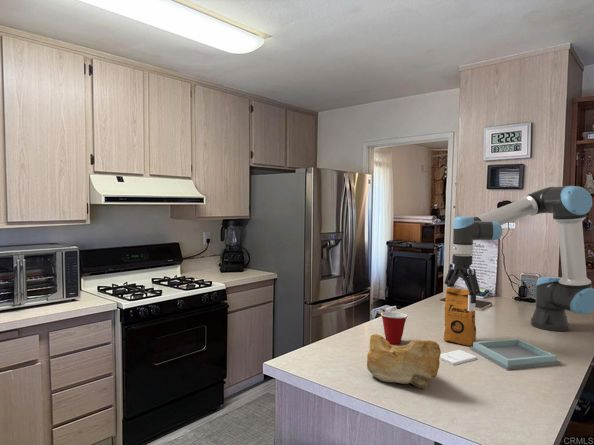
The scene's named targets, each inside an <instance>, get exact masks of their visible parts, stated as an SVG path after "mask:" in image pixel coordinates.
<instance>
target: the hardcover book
mask: <svg viewBox="0 0 594 445" xmlns="http://www.w3.org/2000/svg"><path fill="white" fill-rule="evenodd" d="M445 301H446V296H445V297H443V298H440V299H439V302H440V304H445ZM492 306H493V302H491V301H485V300H481V299H476V303H475V311H476V310H477V311H482V310H484V309H487V308H489V307H492Z"/></svg>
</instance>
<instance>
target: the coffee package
mask: <svg viewBox="0 0 594 445" xmlns="http://www.w3.org/2000/svg"><path fill="white" fill-rule="evenodd" d="M472 292H473V291H472ZM468 294H469V290H468V289H460V288H456V287H455V288H448V287H446V292H445V297H446V301H445V303H444V304H445V305H444V308H443V309H444V324H443V325H444V333H443V341H446V342H452V343H455V344H458V345H463V346H468V347H472V346H473V342H477V340H476V339H477V327H476V310H475V311H468Z"/></svg>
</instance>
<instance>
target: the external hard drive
mask: <svg viewBox="0 0 594 445" xmlns="http://www.w3.org/2000/svg"><path fill="white" fill-rule="evenodd" d="M475 360H478V356H476V355H475V354H471V353H469V352H467V351H464V350H462V349H456V350H452V351H448V352H445V353H441V354H440V358H439V361H443V362H445V363H447V364H450V365H451V366H456V365H459V364H464V363H468V362H472V361H475Z"/></svg>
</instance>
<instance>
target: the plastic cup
mask: <svg viewBox="0 0 594 445" xmlns="http://www.w3.org/2000/svg"><path fill="white" fill-rule="evenodd" d="M380 315H381V319H382V324H383V331H384V337H385V338H384V339H385V340H386V341H388V342H389V343H390V344H391V345H394V346H399V345H401V343H402V339H403V338H402V337H403V336H404V335H403V333H404V330H405V324H406V320H407V318H408V314H406V313H402V312H398V311H382V312H380Z"/></svg>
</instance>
